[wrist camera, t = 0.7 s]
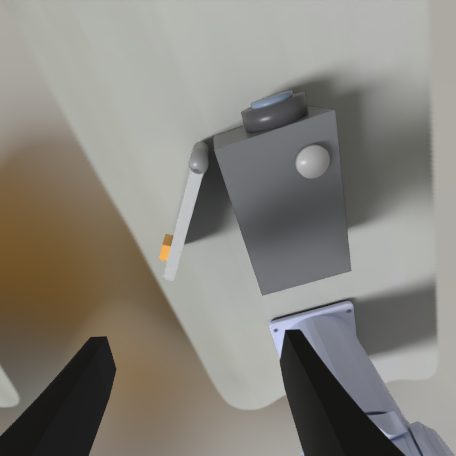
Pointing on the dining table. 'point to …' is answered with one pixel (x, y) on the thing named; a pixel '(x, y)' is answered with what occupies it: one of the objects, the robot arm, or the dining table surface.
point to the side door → (185, 210)
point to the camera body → (287, 190)
